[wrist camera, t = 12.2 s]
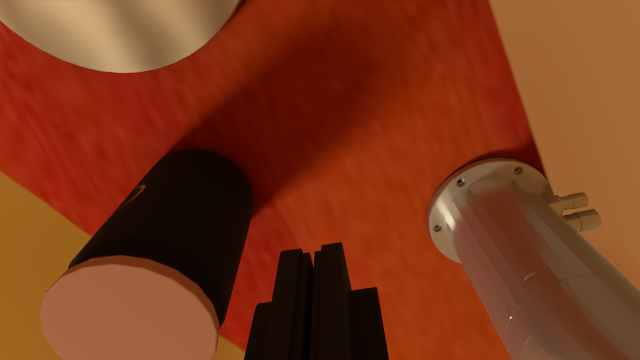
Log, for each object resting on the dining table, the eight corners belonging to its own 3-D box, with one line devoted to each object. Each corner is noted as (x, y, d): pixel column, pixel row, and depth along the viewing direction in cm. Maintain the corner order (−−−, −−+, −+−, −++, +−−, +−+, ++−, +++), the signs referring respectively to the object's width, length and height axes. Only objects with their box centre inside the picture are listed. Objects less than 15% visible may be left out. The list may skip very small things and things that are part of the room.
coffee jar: (158, 129, 38) (42, 241, 22) (268, 164, 39) (237, 292, 23) (141, 221, 42) (34, 370, 26) (240, 248, 44) (197, 405, 28)
